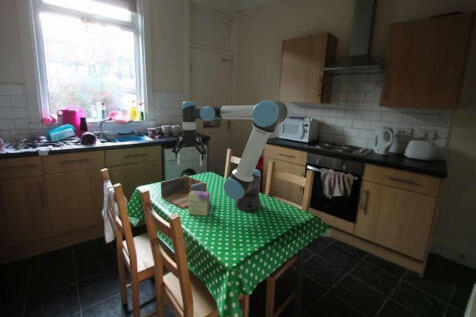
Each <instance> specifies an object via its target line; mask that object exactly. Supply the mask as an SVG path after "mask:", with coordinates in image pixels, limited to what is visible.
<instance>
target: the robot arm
mask: <svg viewBox="0 0 476 317" xmlns="http://www.w3.org/2000/svg"><path fill="white" fill-rule="evenodd" d="M181 114H182V115H181V116H182V137H181V136H178V137H176V143H175V145H174V147H172V153H173V154H174V155H175V156H174V157H175V159H176V165H177V166H179V165H180V164H181V155H180V154H181V153H180V152H181V150H182V149H183V148H184V146H193V147H194V148H195V149H196V150H197V152H199V167H202V166H203V161H204V159H205V156H204V155H206V154H208V151H207V150H206V147H205V144H204V143H203V141H202V137H197V130H196V129H197V120H199V121H200V120H201V121H212V120H216V119H218V120H252V122H251V126H252V129H251V130H252V131H251V133H250V135H249V138H248V141H247V143H246V145H245V148H244V150H243V153H242V155H241V157H240V160H239V163H238V165H237V167H236V168H234V169H233V170H232V172H231V175H230V177H229V178H227V179H226V180H225V182H224V183H223V190H224V192H225V195H226V196H227V197H228V198H229V199H231V200H233V201H234V200H236V201H235V207H236V209H238V210H240V211H242V212H252V213H253V212H257V211H259V210H261V208H262V201H261V197H260V189H261V187H260V186H261V177H262V175H261V171H260V170H259V169H257V168H256V167H257V164H258V162H259V160H260V157H261V156H262V154H263V150H264V148H265V146H266V144H267V141H268V139H269V137H270V136H271V135H272V134H274V133H275V132H276V129H277V127H278V125H280V124H282V123H283V122H284V121H285V120H286V119H287V117H288V116H289V115H288V114H289V110H288V106H286V103H284V102H283V101H280V100H270V99H265V100H262V101H259V102H258V103H257V104H252V105H251V104H249V105H244V104H243V105H241V104H240V105H238V104H237V105H197V104H196V101H182V104H181ZM181 141H183V142H182V143H181ZM197 142H198V144H199V145H200V146H199V145H198V144H197ZM180 143H181V145H180ZM179 145H180V146H179Z"/></svg>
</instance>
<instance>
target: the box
mask: <svg viewBox="0 0 476 317" xmlns="http://www.w3.org/2000/svg"><path fill="white" fill-rule="evenodd" d="M210 195H211V193H210V191H207V192H203V191H191V192H190V193H189V207H188V210H187V211H188V214H189V215H196V216H206V217H207V216H208V214H209V212H210V199H211V198H210V197H211V196H210Z"/></svg>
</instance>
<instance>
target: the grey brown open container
mask: <svg viewBox="0 0 476 317" xmlns="http://www.w3.org/2000/svg"><path fill="white" fill-rule="evenodd" d="M207 188H208V183H207V182H204V181H201V180H199V179H196V178H194V177H192V176H189V175H186V174H183V176H180V177H176V178H173V179H171V178H170V179H168V180H163V181H160V198H161V199H163V200H165V201H167V202H169V203H170V204H172V205H174V206H176V207H178V208H180V209H182V210H184V209H186V208H189V193H190V192H191V191H203V192H208V191H207V190H208V189H207Z"/></svg>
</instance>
